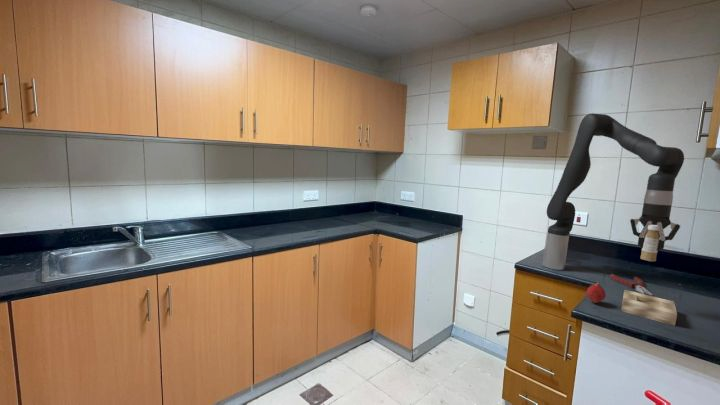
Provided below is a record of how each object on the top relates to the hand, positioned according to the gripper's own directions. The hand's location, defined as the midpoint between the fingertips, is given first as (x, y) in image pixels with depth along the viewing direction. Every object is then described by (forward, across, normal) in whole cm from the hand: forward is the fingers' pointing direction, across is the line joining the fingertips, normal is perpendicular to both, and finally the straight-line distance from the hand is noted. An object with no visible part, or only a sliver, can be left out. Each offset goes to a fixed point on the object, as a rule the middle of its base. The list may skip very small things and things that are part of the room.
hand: (650, 248), depth 118 cm
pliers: (+23, -4, +24) cm, 33 cm away
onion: (+22, -14, -10) cm, 28 cm away
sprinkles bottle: (+4, 0, 0) cm, 4 cm away
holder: (+22, +2, -4) cm, 23 cm away
